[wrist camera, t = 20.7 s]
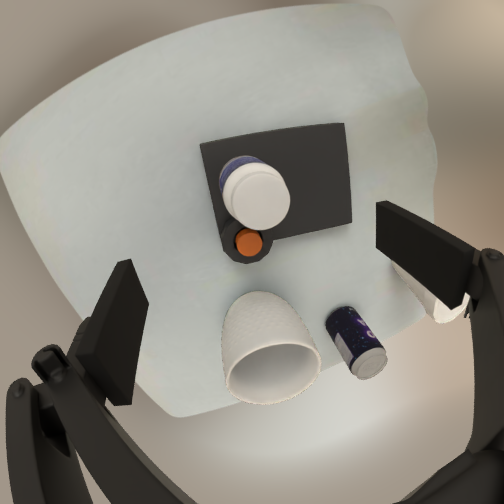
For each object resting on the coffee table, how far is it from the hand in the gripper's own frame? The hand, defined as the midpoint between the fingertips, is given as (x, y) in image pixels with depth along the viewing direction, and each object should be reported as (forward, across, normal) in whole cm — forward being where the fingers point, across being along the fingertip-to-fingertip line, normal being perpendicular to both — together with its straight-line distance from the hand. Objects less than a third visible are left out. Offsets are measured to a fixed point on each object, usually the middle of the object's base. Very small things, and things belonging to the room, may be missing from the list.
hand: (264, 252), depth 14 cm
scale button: (+17, +1, -7) cm, 18 cm away
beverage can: (+20, +14, -25) cm, 35 cm away
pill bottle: (+19, +2, 0) cm, 19 cm away
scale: (+20, +6, -2) cm, 21 cm away
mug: (+20, 0, -20) cm, 29 cm away
